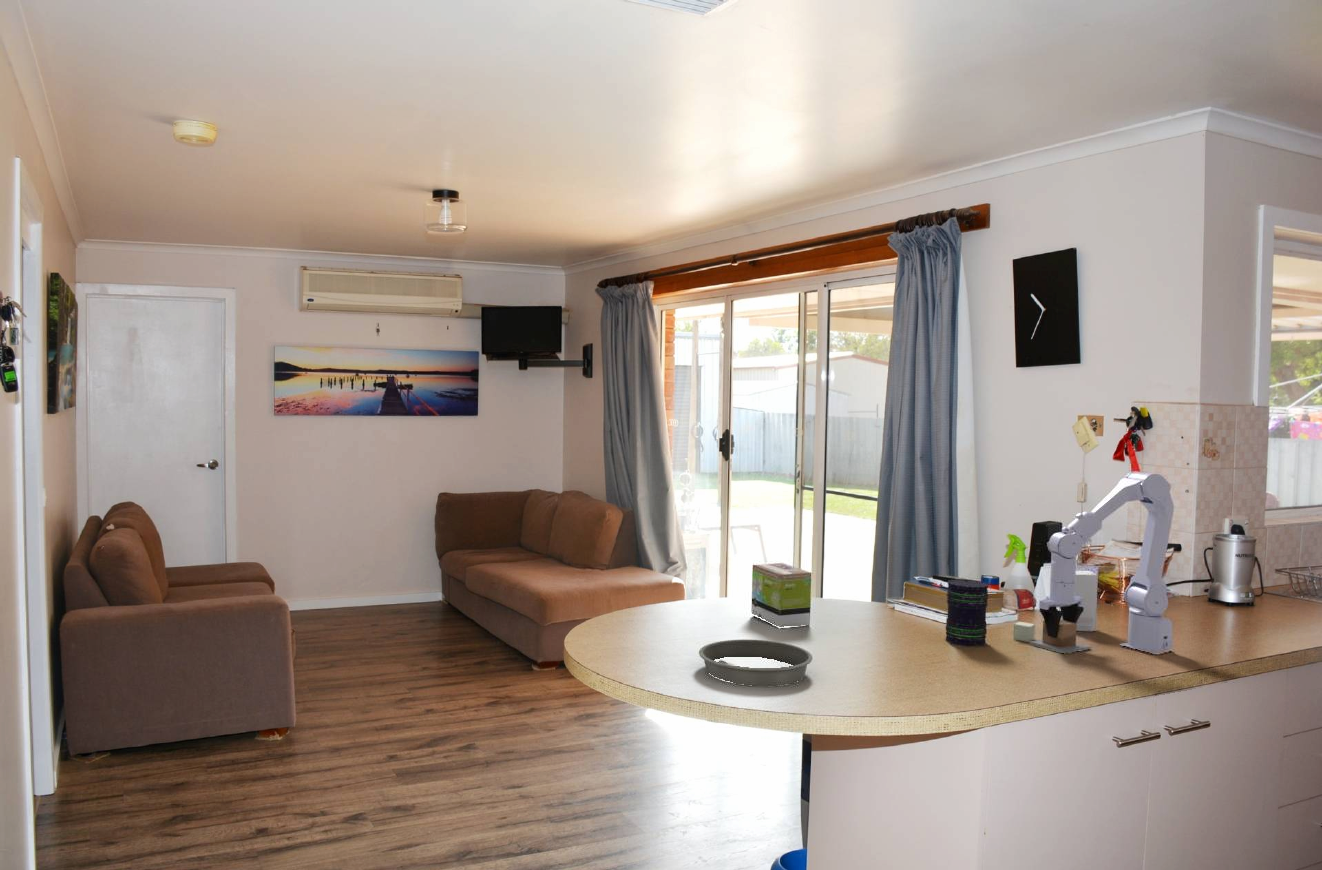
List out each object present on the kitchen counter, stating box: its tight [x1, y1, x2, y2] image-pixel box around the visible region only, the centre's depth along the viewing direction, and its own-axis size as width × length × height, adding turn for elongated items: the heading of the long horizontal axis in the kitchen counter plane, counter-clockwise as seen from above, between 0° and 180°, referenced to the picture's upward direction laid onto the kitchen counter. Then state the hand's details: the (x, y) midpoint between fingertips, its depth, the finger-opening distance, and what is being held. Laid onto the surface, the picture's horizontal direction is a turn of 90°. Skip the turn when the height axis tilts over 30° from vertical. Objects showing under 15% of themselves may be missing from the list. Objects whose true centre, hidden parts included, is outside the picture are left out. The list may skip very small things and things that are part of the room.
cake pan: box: [698, 639, 813, 687], centre depth 206 cm, size 25×25×4 cm
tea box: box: [750, 562, 812, 627], centre depth 255 cm, size 15×10×15 cm, turn 25°
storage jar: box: [945, 578, 989, 648], centre depth 238 cm, size 10×10×15 cm
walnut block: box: [1041, 619, 1077, 648], centre depth 236 cm, size 6×6×6 cm
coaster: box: [1029, 639, 1092, 655], centre depth 236 cm, size 10×10×1 cm
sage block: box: [1012, 621, 1036, 643], centre depth 243 cm, size 4×4×4 cm
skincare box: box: [1058, 570, 1099, 632], centre depth 256 cm, size 8×7×16 cm
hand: (1060, 635), depth 236 cm, fingers closed on walnut block, 5 cm apart
